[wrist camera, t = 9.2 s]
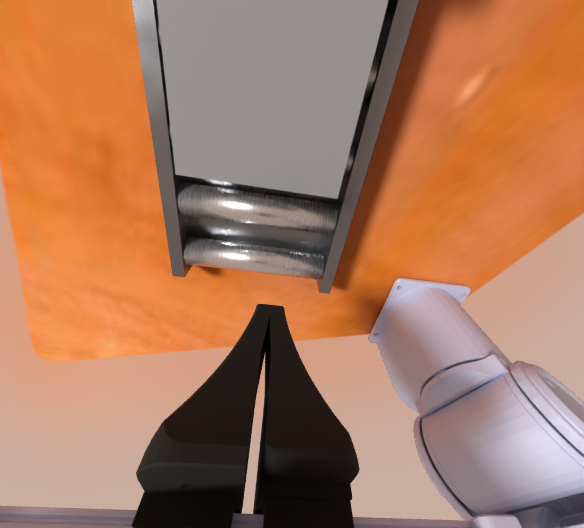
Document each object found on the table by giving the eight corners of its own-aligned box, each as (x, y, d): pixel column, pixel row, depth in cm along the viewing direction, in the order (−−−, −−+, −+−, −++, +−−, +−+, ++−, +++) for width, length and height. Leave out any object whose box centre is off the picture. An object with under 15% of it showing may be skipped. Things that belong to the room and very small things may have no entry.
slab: (334, 192, 16) (337, 198, 15) (184, 169, 15) (175, 174, 14) (404, -94, 10) (419, -123, 9) (154, -161, 9) (134, -203, 8)
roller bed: (325, 275, 24) (329, 293, 21) (185, 258, 23) (172, 275, 20) (422, -71, 12) (454, -116, 10) (141, -145, 11) (99, -217, 8)
